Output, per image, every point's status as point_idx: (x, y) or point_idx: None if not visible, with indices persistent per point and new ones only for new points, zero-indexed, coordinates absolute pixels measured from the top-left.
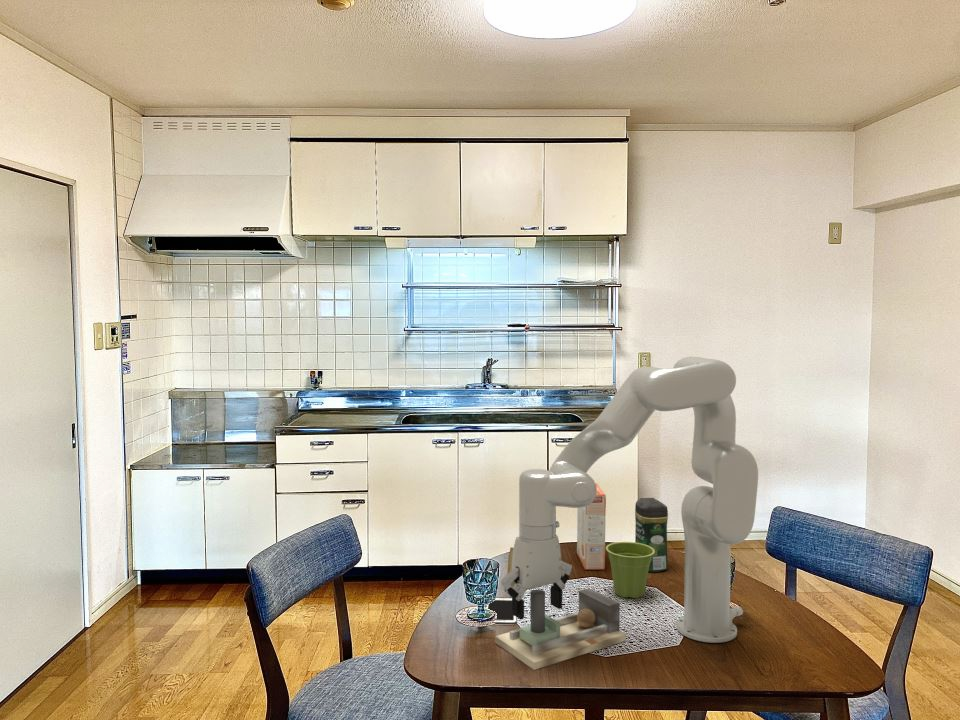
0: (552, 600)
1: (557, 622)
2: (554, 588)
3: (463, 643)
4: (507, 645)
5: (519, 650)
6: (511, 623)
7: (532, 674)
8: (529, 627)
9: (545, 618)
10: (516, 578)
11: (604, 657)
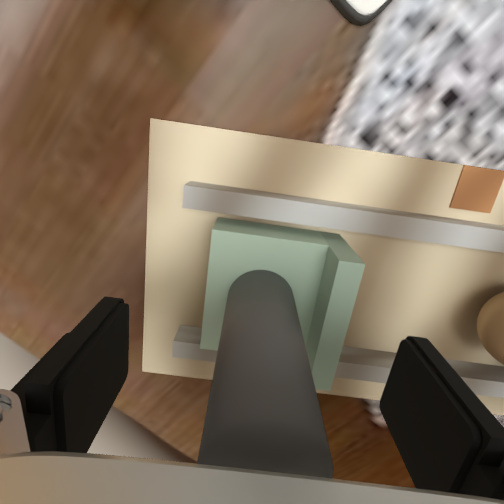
0: (411, 374)
1: (325, 381)
2: (465, 473)
3: (37, 17)
4: (148, 218)
5: (155, 284)
6: (344, 11)
7: (130, 367)
8: (250, 258)
9: (325, 312)
10: (2, 502)
11: (368, 422)
